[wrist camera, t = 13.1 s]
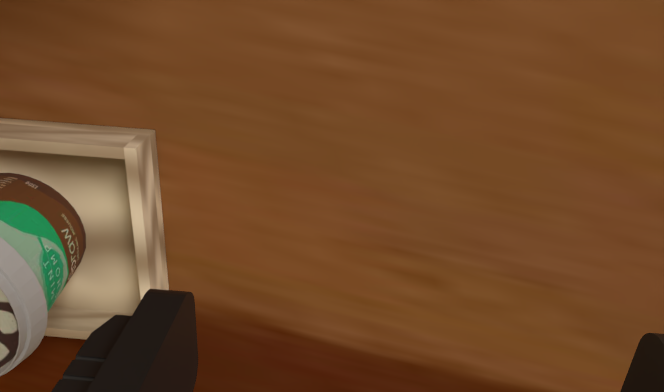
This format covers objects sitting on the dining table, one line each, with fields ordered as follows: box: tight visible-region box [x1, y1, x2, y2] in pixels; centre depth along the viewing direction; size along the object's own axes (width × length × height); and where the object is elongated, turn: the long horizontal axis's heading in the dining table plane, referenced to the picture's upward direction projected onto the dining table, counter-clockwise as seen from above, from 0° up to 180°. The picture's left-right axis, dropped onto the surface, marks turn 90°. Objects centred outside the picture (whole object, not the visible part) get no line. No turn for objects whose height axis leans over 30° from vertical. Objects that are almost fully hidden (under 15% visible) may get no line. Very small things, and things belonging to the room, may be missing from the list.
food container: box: [0, 173, 86, 376], centre depth 37 cm, size 12×6×10 cm, turn 7°
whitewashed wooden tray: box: [0, 118, 169, 339], centre depth 41 cm, size 16×16×4 cm
